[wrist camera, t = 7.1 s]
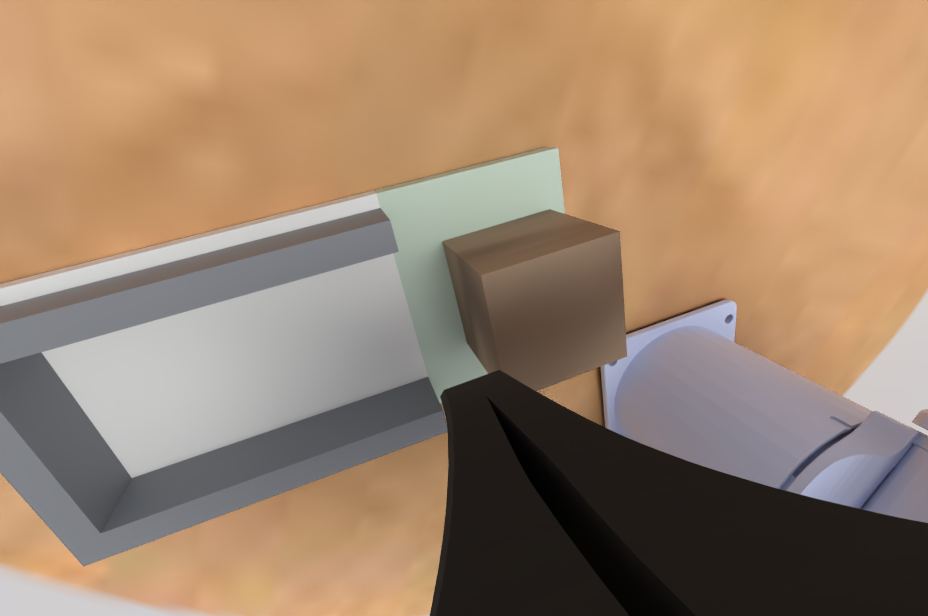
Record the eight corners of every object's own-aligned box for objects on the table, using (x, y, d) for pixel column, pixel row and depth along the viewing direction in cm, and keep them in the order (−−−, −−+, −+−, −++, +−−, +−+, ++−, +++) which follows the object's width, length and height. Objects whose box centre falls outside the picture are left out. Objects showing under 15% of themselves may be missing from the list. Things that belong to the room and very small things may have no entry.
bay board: (568, 344, 21) (610, 381, 18) (120, 501, 17) (75, 582, 14) (545, 146, 17) (595, 149, 14) (-38, 293, 13) (-148, 341, 10)
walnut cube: (562, 309, 19) (627, 356, 15) (466, 343, 18) (507, 401, 14) (549, 209, 17) (619, 231, 13) (442, 241, 16) (481, 275, 12)
